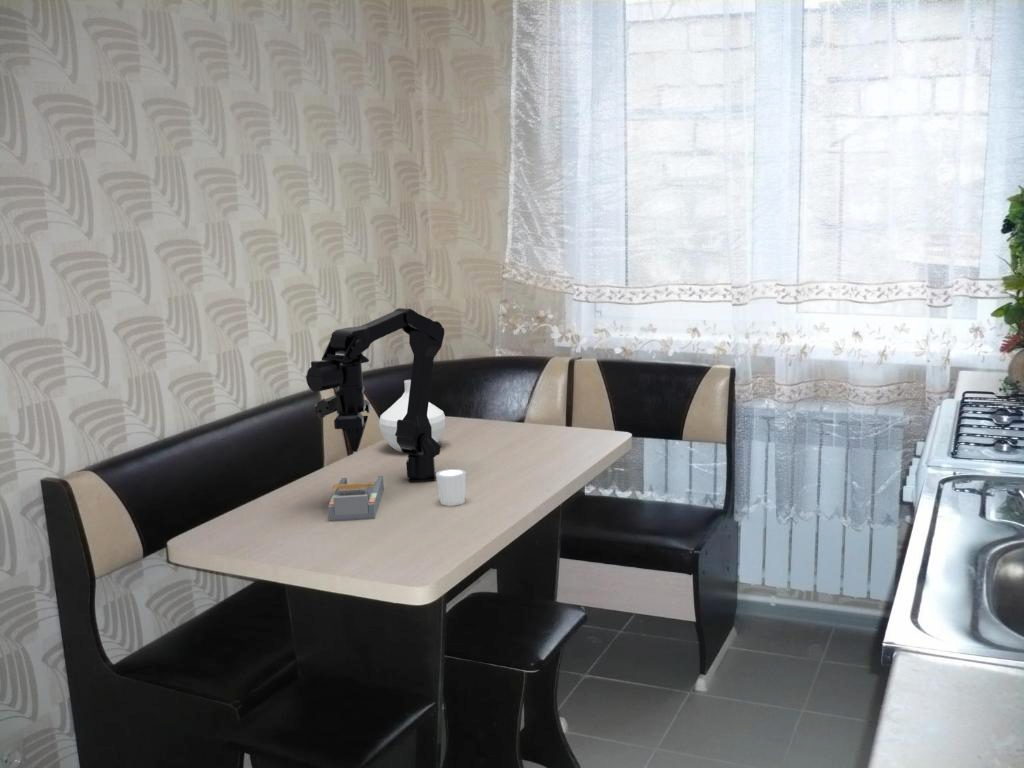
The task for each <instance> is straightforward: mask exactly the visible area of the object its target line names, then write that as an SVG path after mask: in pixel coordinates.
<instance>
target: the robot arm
mask: <svg viewBox="0 0 1024 768" xmlns="http://www.w3.org/2000/svg"><path fill="white" fill-rule="evenodd" d="M399 330H402V331H403V333H405V334H406V335H408V336H409V346H410V349H411V351H412V355H413V358H412V359H413V360H412V370H411V377H410V380H411V384H410V392H409V401H408V409H407V414H406V415H405V417H404V418H403V420H398V421H397V430H396V433H395V436H397V443H398V444H399V446H400V448H401V450H402V452H401V453H402V454H403V455H408V456H407V459H406V460H405V461H406V463H405V464H406V478H407V479H408V482H409V483H413V482H415V483H416V482H417V483H418V482H433V481H434V482H435V481H436V480H437V478H436V473H437V471H436V463H435V461H436V460H435V457H436V456H439V455H440V453H441V444H439V443H437V442H436V441H435V440H434V439H433V438H432V428H431V425H430V422H429V420H428V417H427V411H428V403H429V402H430V393H431V385H432V379H433V378H432V377H433V367H434V361H435V360H434V359H435V358H436V356H437V354H438V353H439V351H440V350H441V348H442V345H443V341H444V337H445V328H444V327H443V326H442V323H440V321H438V320H432V319H431V318H429V317H426V316H424V315H422V314H420V313H418V312H417V311H415V310H413V309H412V308H405V307H403V308H402V307H398V308H396V309H395V310H394V311H391V312H389V313H387V314H385V315H382V316H381V317H377V318H376V319H373V320H371V321H369V322H367V323H365V324H362V325H359V326H351V327H344V328H338V329H335V330H334V331H333V332H332V333H331V335H330V336H331V337H330V338H329V339H330V340H329V342H328V345H327V347H326V349H325V351H324V353H323V355H322V358H321V360H313V361H311V362H310V366H311V367H309V368H308V370H307V373H306V375H305V379H306V384H307V386H308V387H309V389H310V391H312V392H314V393H319V392H323V391H327V390H331V389H336V388H337V391H336V392H335V395H332V396H330V397H327V398H322V399H321V400H318V401H316V402H315V404H314V406H313V408H314V412H315V414H316V415H317V417H318V419H320V420H321V419H322V418H325V417H326V416H328V415H330V414H333V413H335V412H336V413H337V414H338V415H337V416H336V417H335V419H334V420H333V424H334V429H335V430H342V431H344V432H345V434H346V436H347V440H348V442H349V443H348V444H349V445H350V448H351V451H352V452H353V453H355V452H358V450H359V448H360V445H361V442H362V438H363V435H364V433H365V428H366V425H367V423H368V419H369V416H368V415H363V413H364V412H365V411H366V413H367V414H368V413H369V414H370V412H371V403H370V401H368V400H367V399H365V393H364V392H365V385H364V383H363V382H364V380H363V368H362V364H364V363H365V364H366V363H368V362H369V361H370V359H369V358H368V357H366V356H365V355H364V354H363V353H364V352H365V351H366V350H368V349H369V347H370V346H371V344H373V342H375V341H377V340H379V339H383V337H387V336H388V335H390V334H393V333H395V332H397V331H399Z"/></svg>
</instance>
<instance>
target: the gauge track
mask: <svg viewBox="0 0 1024 768" xmlns="http://www.w3.org/2000/svg"><path fill="white" fill-rule="evenodd" d="M340 484H348V478H347V477H341V479H340V480H339V483H338V485H340ZM384 489H385V486H384V476H383V475H378V476H377V478H376V482H375V483H374V486H368V494H369V503H368V494H367V495H349V496H339V493H338V490H339V488H335V491H334V492H333V493H334V494H333V495H332V497H331V499H330V501H329V502H328V503H329V504H328V506H327V509H328V521H329V522H334V521H336V522H337V521H348V520H349V521H353V520H370V519H376V515H377V512H378V509H379V506H380V502H381V499H382V496H383V494H384Z"/></svg>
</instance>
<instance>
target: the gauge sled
mask: <svg viewBox="0 0 1024 768" xmlns="http://www.w3.org/2000/svg"><path fill="white" fill-rule="evenodd" d="M374 484H375V483H374V482H364V483H363V482H362V483H361V482H360V483H347V484H340V485H339V484H332V485H331V488H332V489H337V488H339V490H338V493H339V496H349V495H367V494H368V486H374ZM368 503H369V494H368Z"/></svg>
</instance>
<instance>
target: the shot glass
mask: <svg viewBox="0 0 1024 768" xmlns="http://www.w3.org/2000/svg"><path fill="white" fill-rule="evenodd" d="M466 480H467V471H465V470H464V469H461V468H460V469H459V468H448V469H442V470H440V471H436V483H437V490H438V495H439V502H440V504H441V505H443V506H449V507H450V506H452V507H453V506H454V507H455V506H459V504H460V505H463V504H465V502H466V487H467V485H466V484H467V483H466V482H467V481H466Z"/></svg>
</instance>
